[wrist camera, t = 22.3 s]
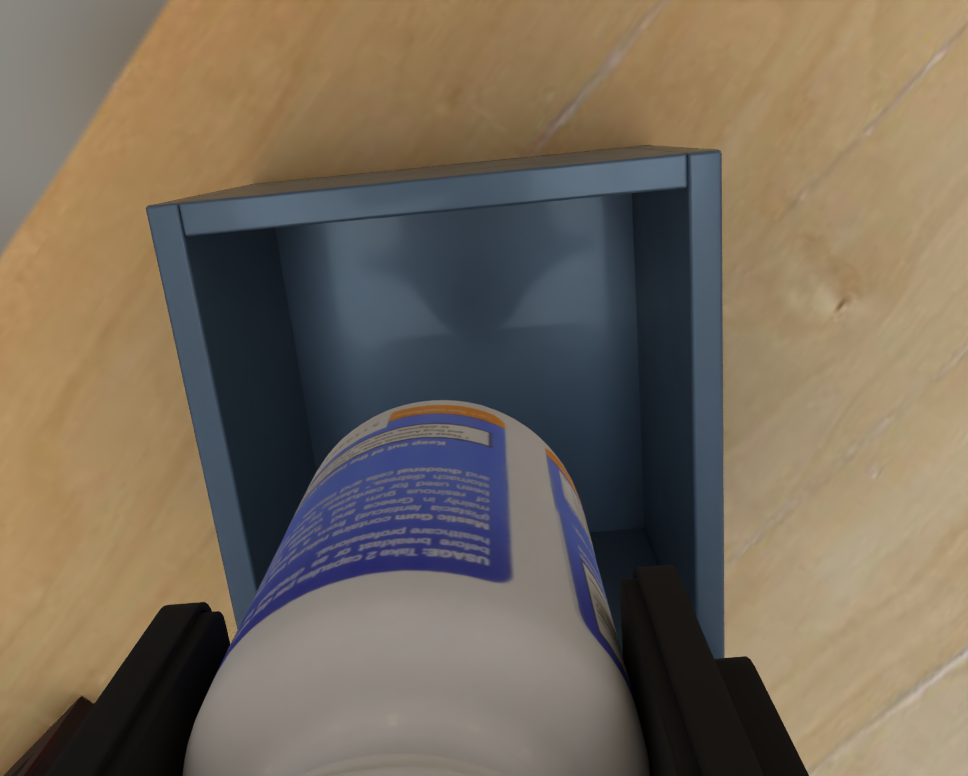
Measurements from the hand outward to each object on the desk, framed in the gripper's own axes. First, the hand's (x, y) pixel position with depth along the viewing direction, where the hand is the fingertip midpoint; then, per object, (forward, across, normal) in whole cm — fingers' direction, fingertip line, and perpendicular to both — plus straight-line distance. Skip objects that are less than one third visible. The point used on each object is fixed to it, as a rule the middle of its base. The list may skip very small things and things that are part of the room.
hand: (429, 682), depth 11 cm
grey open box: (+19, 0, +1) cm, 19 cm away
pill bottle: (+5, 0, 0) cm, 5 cm away
